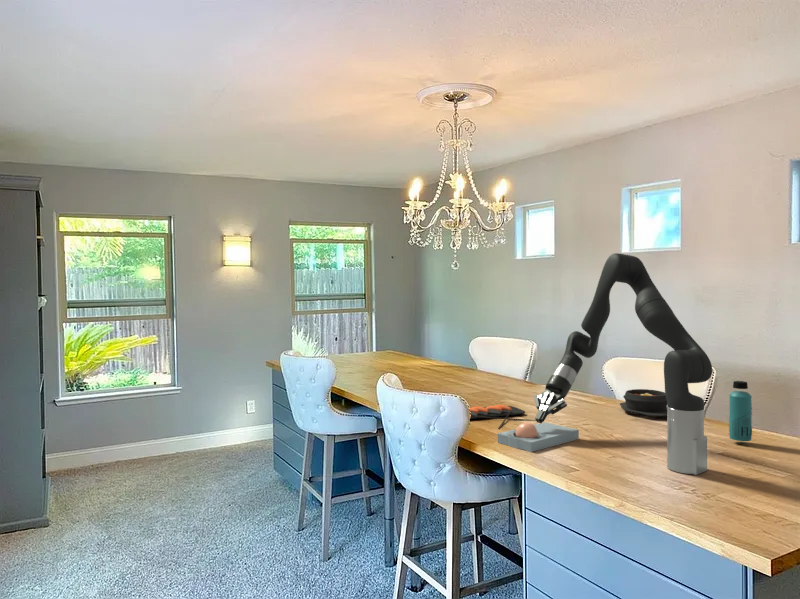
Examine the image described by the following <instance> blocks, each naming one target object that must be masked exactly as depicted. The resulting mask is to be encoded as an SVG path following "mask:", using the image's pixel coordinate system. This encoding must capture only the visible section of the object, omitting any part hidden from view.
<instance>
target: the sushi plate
mask: <svg viewBox="0 0 800 599" xmlns="http://www.w3.org/2000/svg"><path fill="white" fill-rule="evenodd" d="M469 408H470V412H471V419H470V420H476V419H477V418H479V419H497V420H498V419H499V420H503V421H502V422H501V424H500V425H499V426H498V427H497V429H499V430H501V428H502V427H503V425H504V423H505V422H506V420H508V421H509V420H510V421H520V422H521V421H525V422H526V421H528V422H529V421H533V422H537V421H536V420H535V419H527V418H523V419H522V418H512V417H511V418H510V415H511V416H517V415H524V414H525V413H526V411H525V410H523V409H521V408H518V407H515V406H512V405H505V404H496V405H490V406H485V407H483V406H473V407H469ZM499 416H500V417H499ZM508 417H509V418H508Z"/></svg>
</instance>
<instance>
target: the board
mask: <svg viewBox="0 0 800 599" xmlns="http://www.w3.org/2000/svg"><path fill="white" fill-rule="evenodd" d="M533 425H534V426H535V428H536V429H537V433H538V436H537V437H536V438H520V437H516V429H517V428H515V429H511V430H507V431H504V432H503V431H502V432H498V433H497V443H498V444H502V445H505V446H509V447H511V448H514V449H520V450H522V451H527V452H530V453H533V452H537V451H540V450H544V449H547V448H551V447H554V446H558V445H561V444H564V443H565V444H566V443H569V442H572V441H573V442H574V441H576V439H577V440H579V438H580V437H579V435H580V433H579V431H580V430H579V429H575V428H572V427H568V426H562V425H557V424H554V423H550V422H546V421H544V422H542V423H537V424H533Z"/></svg>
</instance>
